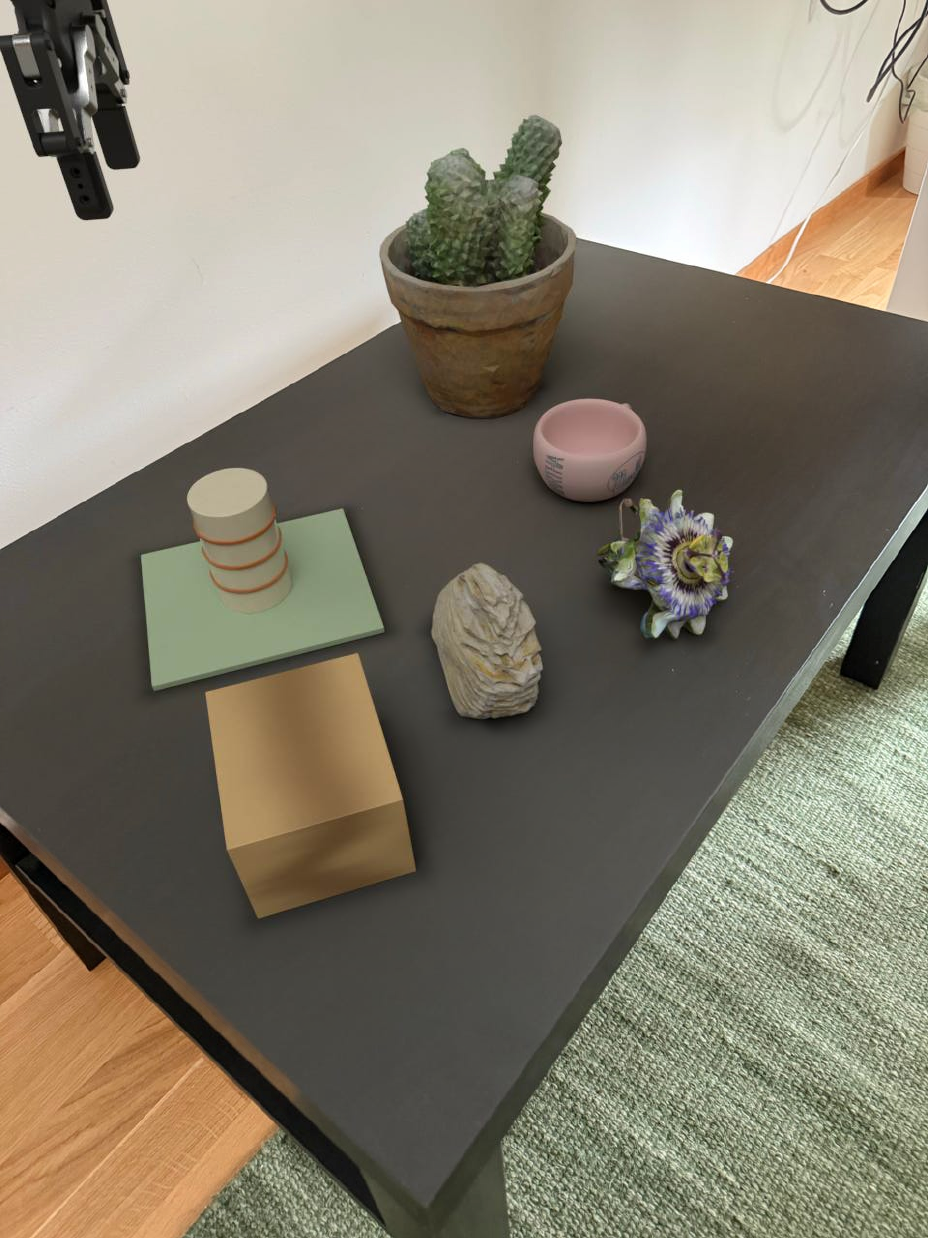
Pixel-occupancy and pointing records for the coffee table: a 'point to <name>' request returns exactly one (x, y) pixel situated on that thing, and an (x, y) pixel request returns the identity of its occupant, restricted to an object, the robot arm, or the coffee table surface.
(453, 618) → the fossil tooth
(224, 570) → the banded jar
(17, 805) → the coffee table surface
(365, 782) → the stand
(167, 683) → the mat
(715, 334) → the coffee table surface
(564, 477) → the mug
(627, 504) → the passion flower
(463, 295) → the potted plant
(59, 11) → the robot arm
